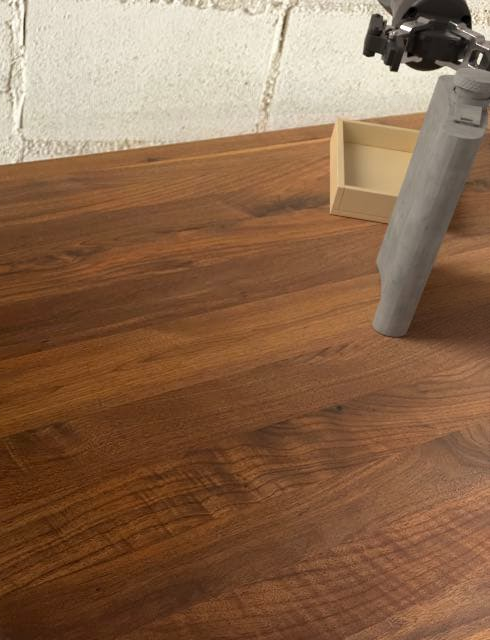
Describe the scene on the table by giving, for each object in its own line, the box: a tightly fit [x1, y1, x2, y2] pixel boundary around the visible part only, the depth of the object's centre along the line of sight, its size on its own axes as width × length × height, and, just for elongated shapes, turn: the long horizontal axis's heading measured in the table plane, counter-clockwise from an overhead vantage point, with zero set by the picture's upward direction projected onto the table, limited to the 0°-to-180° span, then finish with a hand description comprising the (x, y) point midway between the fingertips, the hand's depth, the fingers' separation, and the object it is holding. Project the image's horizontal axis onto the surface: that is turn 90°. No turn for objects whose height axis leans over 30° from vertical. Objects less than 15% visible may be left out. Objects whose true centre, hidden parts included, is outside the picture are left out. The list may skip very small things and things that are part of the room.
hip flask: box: [371, 68, 490, 338], centre depth 78 cm, size 16×4×20 cm, turn 165°
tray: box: [329, 117, 420, 225], centre depth 103 cm, size 12×22×3 cm, turn 169°
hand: (442, 68), depth 84 cm, fingers open, 8 cm apart
